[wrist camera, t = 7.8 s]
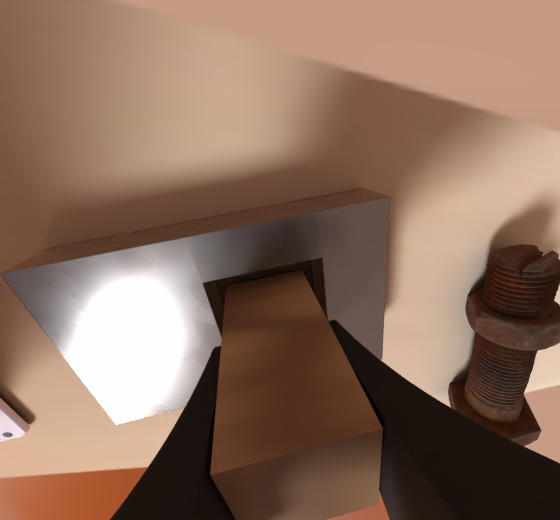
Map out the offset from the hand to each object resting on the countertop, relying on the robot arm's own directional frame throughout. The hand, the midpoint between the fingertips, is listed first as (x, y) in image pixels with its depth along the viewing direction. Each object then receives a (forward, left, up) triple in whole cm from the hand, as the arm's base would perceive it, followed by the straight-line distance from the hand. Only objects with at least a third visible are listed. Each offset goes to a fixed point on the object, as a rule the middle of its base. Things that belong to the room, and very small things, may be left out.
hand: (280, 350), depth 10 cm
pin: (0, 0, -3) cm, 3 cm away
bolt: (+16, -7, -5) cm, 18 cm away
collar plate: (-2, 0, -5) cm, 5 cm away
